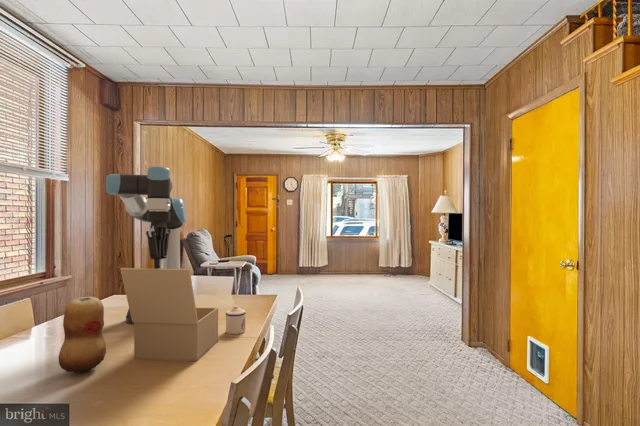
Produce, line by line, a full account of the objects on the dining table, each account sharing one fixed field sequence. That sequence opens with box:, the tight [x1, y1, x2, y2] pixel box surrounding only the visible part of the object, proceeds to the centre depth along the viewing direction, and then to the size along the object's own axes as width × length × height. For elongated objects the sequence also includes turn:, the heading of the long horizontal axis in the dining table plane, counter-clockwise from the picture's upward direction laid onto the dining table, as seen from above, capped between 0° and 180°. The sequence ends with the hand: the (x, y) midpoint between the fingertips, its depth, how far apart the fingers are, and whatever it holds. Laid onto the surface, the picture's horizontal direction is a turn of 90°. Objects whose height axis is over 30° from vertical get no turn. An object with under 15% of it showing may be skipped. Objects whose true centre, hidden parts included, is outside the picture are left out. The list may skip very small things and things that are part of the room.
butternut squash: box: [58, 296, 107, 374], centre depth 131 cm, size 14×13×25 cm
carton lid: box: [120, 267, 198, 324], centre depth 137 cm, size 25×22×1 cm
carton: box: [133, 307, 219, 362], centre depth 152 cm, size 24×22×14 cm
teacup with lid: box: [224, 305, 247, 335], centre depth 177 cm, size 12×9×12 cm
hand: (158, 277), depth 136 cm, fingers closed
